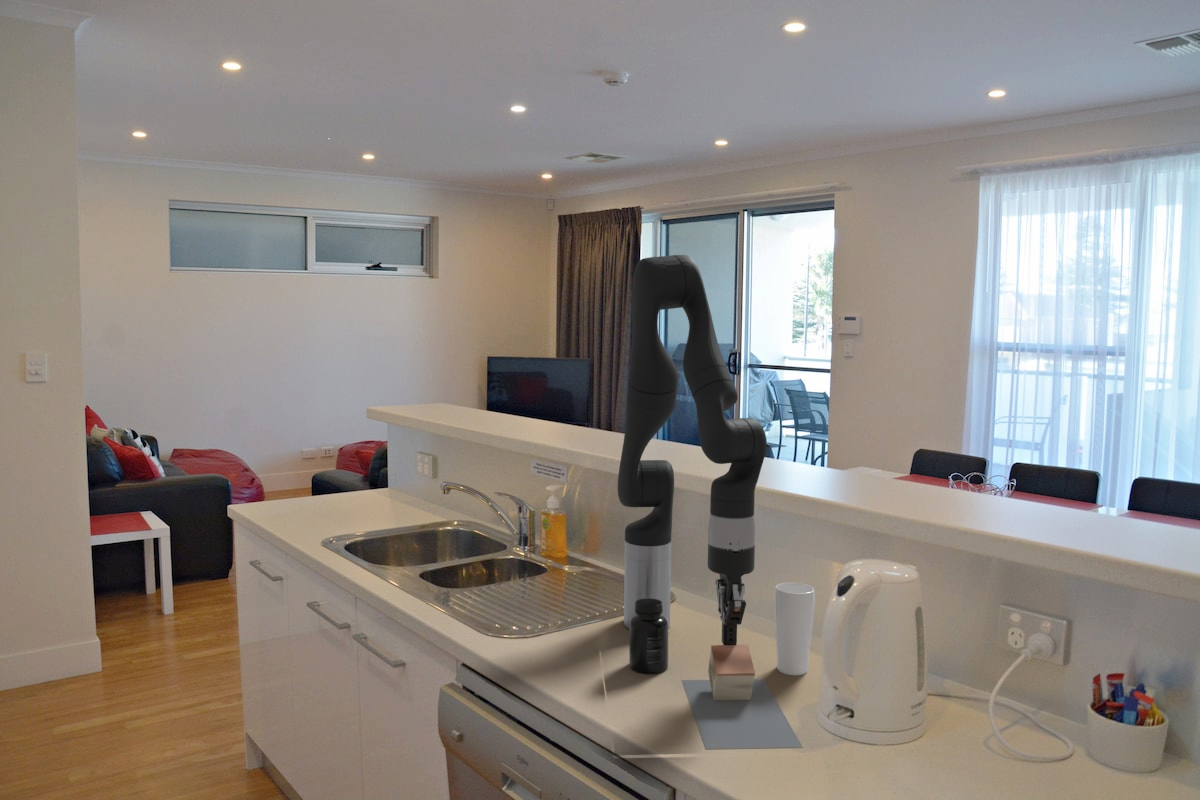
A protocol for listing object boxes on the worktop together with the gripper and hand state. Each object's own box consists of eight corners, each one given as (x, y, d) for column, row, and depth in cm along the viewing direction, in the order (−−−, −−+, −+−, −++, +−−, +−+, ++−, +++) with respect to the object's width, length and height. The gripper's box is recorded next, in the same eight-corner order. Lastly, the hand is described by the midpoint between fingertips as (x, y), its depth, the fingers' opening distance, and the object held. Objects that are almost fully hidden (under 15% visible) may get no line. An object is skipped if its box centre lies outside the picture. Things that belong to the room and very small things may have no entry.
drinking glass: (765, 666, 157) (767, 584, 156) (798, 661, 159) (800, 580, 158) (786, 681, 151) (788, 595, 149) (820, 676, 153) (822, 591, 152)
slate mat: (681, 682, 150) (681, 680, 150) (763, 681, 151) (763, 679, 151) (705, 751, 126) (705, 749, 126) (802, 750, 127) (803, 747, 127)
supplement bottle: (671, 663, 158) (672, 598, 157) (663, 678, 152) (664, 610, 150) (633, 659, 160) (634, 594, 159) (624, 674, 153) (625, 606, 152)
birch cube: (708, 671, 147) (711, 645, 144) (743, 670, 148) (747, 644, 145) (713, 700, 142) (717, 673, 139) (750, 699, 143) (755, 673, 140)
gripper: (701, 531, 150) (699, 630, 152) (715, 552, 137) (713, 661, 139) (745, 531, 151) (743, 630, 152) (763, 552, 137) (761, 660, 139)
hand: (729, 644), depth 145 cm, fingers closed
